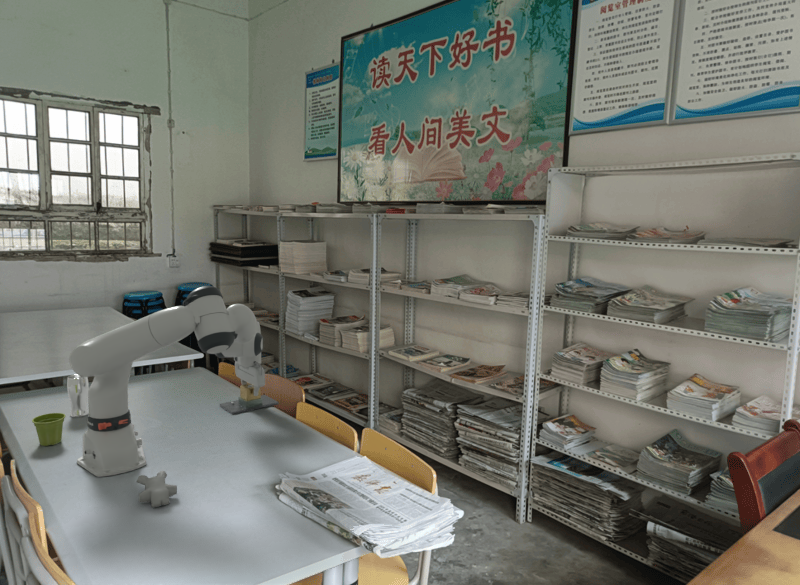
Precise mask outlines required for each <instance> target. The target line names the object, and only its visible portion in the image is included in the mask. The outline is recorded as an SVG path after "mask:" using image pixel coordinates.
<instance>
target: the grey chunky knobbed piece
mask: <svg viewBox="0 0 800 585" xmlns="http://www.w3.org/2000/svg"><path fill="white" fill-rule="evenodd" d="M167 476H168V475H167V472H166V471H165V470H160V471H158V472H157V473H156V475H155V476H152V477H151V476H150V477H148V476H147V475H145V474H142V475H138V477H137V479H136V483H138V484H140V485H143V486H144V490H143V491H142V492H139V493H138V502H139V503H150V504H151V505H150V507H151V508H158V507H161V506H166V505H169V504H170V497H173V496H176V495H177V494H178V485H175V484H168V483H166V478H167Z"/></svg>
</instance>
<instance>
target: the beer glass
mask: <svg viewBox="0 0 800 585" xmlns="http://www.w3.org/2000/svg"><path fill="white" fill-rule="evenodd" d="M88 378H89V377H83V376H80V375H78V374H76V373H75V374H71V375H68V376H67V382H66V383H67V384H66V388H67V389H66V390H67V395H68V399H69V402H70V414H69V416H70V417H72V418H81V417H85V416H88V414H89V407H88V390H89V387H90V386H89V385H90V384H89V379H88Z"/></svg>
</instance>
